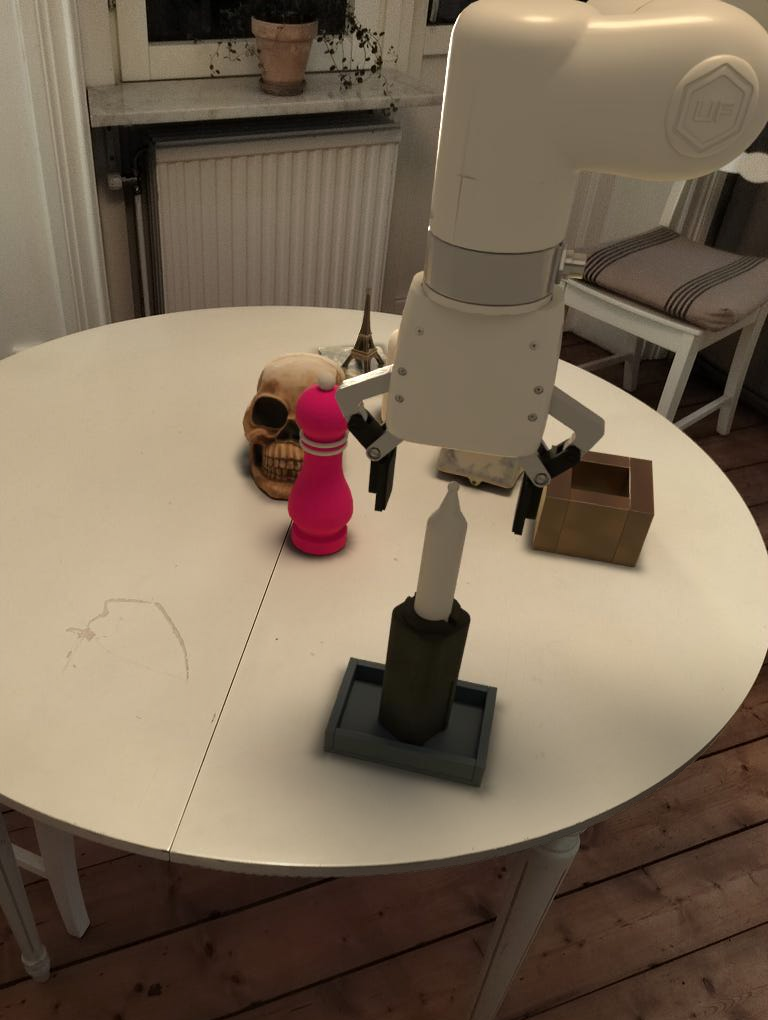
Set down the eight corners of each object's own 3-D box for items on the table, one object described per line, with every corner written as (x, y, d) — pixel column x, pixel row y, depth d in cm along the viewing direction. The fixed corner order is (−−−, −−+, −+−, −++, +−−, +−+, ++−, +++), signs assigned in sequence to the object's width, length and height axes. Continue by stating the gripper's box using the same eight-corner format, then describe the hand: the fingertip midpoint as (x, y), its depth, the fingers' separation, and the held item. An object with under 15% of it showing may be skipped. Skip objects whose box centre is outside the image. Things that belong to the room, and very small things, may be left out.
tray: (492, 706, 79) (497, 687, 77) (480, 787, 72) (485, 768, 71) (348, 675, 82) (350, 656, 80) (323, 750, 75) (324, 731, 73)
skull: (276, 505, 102) (274, 395, 94) (216, 451, 114) (210, 350, 106) (387, 477, 108) (394, 372, 100) (318, 429, 120) (320, 332, 112)
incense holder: (527, 465, 110) (545, 389, 103) (510, 498, 104) (528, 420, 97) (454, 446, 113) (466, 372, 106) (433, 477, 107) (445, 401, 100)
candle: (413, 752, 74) (457, 511, 57) (372, 718, 77) (402, 478, 60) (453, 724, 77) (506, 485, 60) (412, 692, 79) (451, 455, 62)
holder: (634, 511, 102) (652, 460, 98) (635, 567, 95) (654, 514, 90) (539, 495, 105) (552, 444, 100) (531, 548, 97) (545, 496, 92)
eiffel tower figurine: (316, 350, 133) (319, 261, 124) (379, 346, 135) (387, 258, 126) (336, 395, 123) (341, 302, 114) (405, 391, 124) (415, 298, 115)
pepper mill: (278, 527, 99) (279, 362, 85) (335, 515, 101) (346, 352, 87) (300, 564, 94) (306, 395, 80) (361, 550, 96) (376, 383, 82)
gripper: (646, 259, 50) (576, 503, 62) (357, 229, 54) (343, 466, 65) (648, 308, 45) (571, 565, 57) (328, 271, 49) (318, 521, 60)
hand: (449, 512), depth 61 cm, fingers open, 9 cm apart
